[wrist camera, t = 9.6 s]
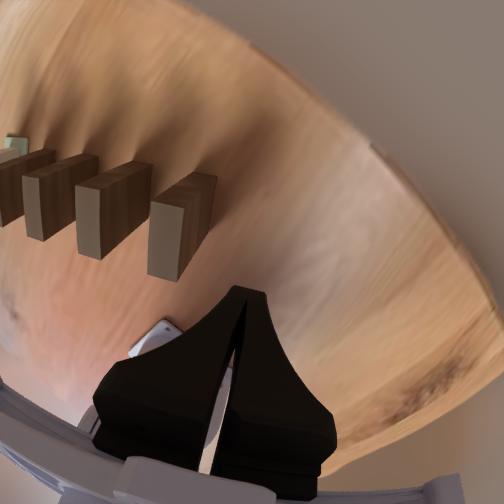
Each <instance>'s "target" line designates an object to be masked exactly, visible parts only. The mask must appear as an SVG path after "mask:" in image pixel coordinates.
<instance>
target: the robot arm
mask: <svg viewBox="0 0 504 504" xmlns="http://www.w3.org/2000/svg"><path fill="white" fill-rule="evenodd" d="M167 327H168V328H167ZM169 328H170V329H169ZM234 349H235V354H234V361H233V369H231V368H229V367H228V365H229V363H230V360H231V357H232V355H233V352H234ZM128 355H129V356H130V357H131V358H129V359H125V360H122V361H118V362H116V363H115V364H114V365H113V367H112V368H111V369H110V370H109V371H108V373H107V374H106V375H105V376H104V378H103V379H102V381H101V382H100V384H99V386H98V388H97V389H96V391H95V393H94V395H93V403H94V405H91V406H90V407H89V408H88V409H87V411H86V412H85V414H84V416H83V417H82V419H81V421H80V422H79V424H78V426H77V427H75V426H73V425H71V424H70V423H67V422H66V421H64V420H62V419H60V418H58V417H57V416H55V415H53V414H51V413H49V412H48V411H46V410H44V409H43V408H41V407H39V406H38V405H36V404H35V403H33V402H31V401H30V400H28V399H27V398H25V397H24V396H22V395H20V394H19V393H17V392H16V391H14V390H13V389H12V388H10V387H9V386H7V385H6V384H5V383H3V380H2V378H1V376H0V452H1V453H2V454H3V455H5V456H6V457H7V458H8V459H10V460H11V461H12V462H14V463H15V464H16V465H17V466H19V467H20V468H21V469H23V470H24V471H26V472H27V473H28V474H30V475H31V476H33V477H34V478H36V479H37V480H39V481H40V482H42V483H43V484H45V485H46V486H48V487H49V488H51V489H53V490H54V491H56V492H58V493H59V494H61V495H62V496H61V498H60V501H59V503H58V504H465V499H464V495H463V489H462V484H461V479H460V474H459V473H456V474H450V475H444V476H439V477H436V478H434V479H432V480H430V481H428V482H427V483H425V484H424V485H423V486H418V487H410V488H401V489H390V490H376V491H346V492H345V491H317V480H318V477H319V476H320V474H321V464H322V463H323V462H324V461H325V460H326V459H327V458H328V457H329V456H330V455H332V454H333V453H334V451H335V450H336V448H337V433H336V428H335V423H334V418H333V415H332V414H331V413H330V412H329V411H328V410H327V409H326V408H325V407H324V406H323V405H322V404H321V403H320V402H319V401H318V400H317V399H316V398H315V397H314V395H313V394H312V393H311V392H310V391H309V390H308V388H307V387H306V386H305V384H304V383H303V382H302V380H301V379H300V377H299V376H298V375H297V373H296V372H295V370H294V368H293V367H292V365H291V363H290V362H289V360H288V358H287V356H286V354H285V353H284V350H283V348H282V346H281V344H280V342H279V339H278V337H277V334H276V332H275V329H274V326H273V323H272V320H271V317H270V313H269V309H268V304H267V297H266V294H265V292H261V291H257V290H253V289H249V288H245V287H241V286H237V285H234V286H232V287H231V289H230V290H229V291H228V293H227V294H226V295H225V297H224V298H223V299H222V300H221V301H220V302H219V303H218V304H217V305H216V306H215V307H214V308H213V309H212V310H211V311H210V312H209V313H208V314H207V315H206V316H205V317H203V318H202V319H201V320H200V321H199V322H198V323H196V324H195V325H194V326H192V327H191V328H190V329H188V330H187V331H185V332H184V333H182V332H181V331H179V330H178V329H177V328H176V327H174V326H173V325H172V324H171V323H169V322H168V321H167V320H161V321H160V322H159V323H157V324H156V325H155V326H154V327H153V328H152V329H151V330H150V331H149V332H148V333H147V334H146V335H145V336H144V337H143V338H142V339H141V340H139V341H138V342H137V343H136V344H135V345H134V346H133V347H132V348H131V349H130V350H129V352H128ZM230 383H231V384H230ZM229 387H230V391H229ZM228 392H229V397H228V402H227V406H226V410H225V414H224V418H223V422H222V426H221V430H220V434H219V439H218V443H217V447H216V451H215V455H214V459H213V463H212V467H211V470H210V474H209V475H207V474H203V473H199V465H200V461H201V457H202V453H203V449H204V448H205V447H207V446H208V445H209V444H210V443H211V441H212V440H213V439H214V437H215V435H216V434H217V432H218V430H219V427H220V424H221V421H222V417H223V413H224V408H225V404H226V400H227V396H228Z"/></svg>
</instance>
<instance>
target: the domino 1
mask: <svg viewBox="0 0 504 504" xmlns="http://www.w3.org/2000/svg"><path fill="white" fill-rule="evenodd" d="M17 157H19V148H15V147H9V148H5V149H2V150H0V163H3V162H6V161H8V160H11V159H14V158H17Z"/></svg>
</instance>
